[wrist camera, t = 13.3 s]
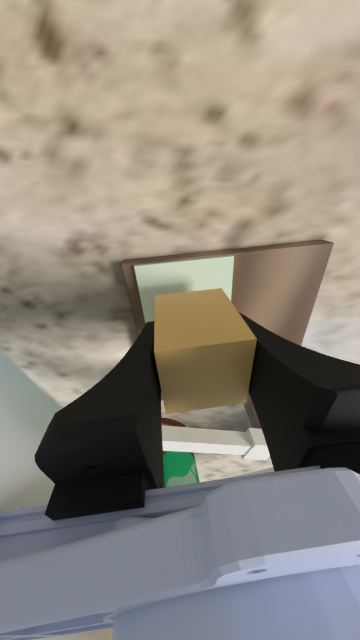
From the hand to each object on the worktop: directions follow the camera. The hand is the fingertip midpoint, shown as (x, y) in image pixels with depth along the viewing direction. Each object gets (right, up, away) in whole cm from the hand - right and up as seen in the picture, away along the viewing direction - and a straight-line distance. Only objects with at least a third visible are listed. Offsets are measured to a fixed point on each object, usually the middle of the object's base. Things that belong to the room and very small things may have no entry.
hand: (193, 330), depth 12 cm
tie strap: (0, -7, +2) cm, 8 cm away
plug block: (0, +1, +1) cm, 1 cm away
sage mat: (0, +2, +4) cm, 4 cm away
